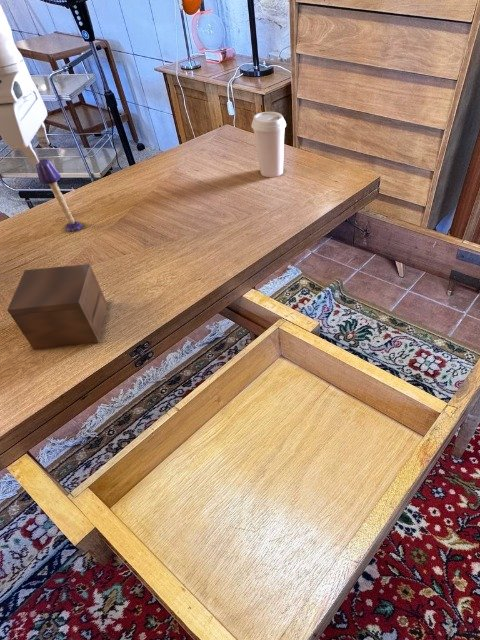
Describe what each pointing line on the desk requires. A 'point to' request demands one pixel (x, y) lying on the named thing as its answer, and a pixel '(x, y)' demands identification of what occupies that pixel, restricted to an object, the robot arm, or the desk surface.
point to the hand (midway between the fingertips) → (40, 154)
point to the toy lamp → (56, 191)
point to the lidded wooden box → (59, 306)
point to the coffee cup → (269, 142)
